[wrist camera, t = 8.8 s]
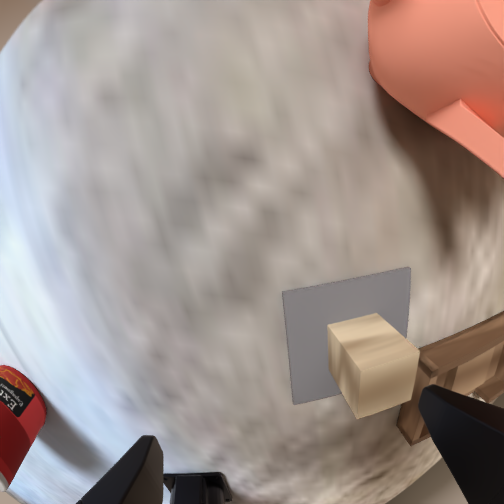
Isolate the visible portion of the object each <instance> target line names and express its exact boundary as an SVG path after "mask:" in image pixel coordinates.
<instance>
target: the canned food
mask: <svg viewBox="0 0 504 504" xmlns="http://www.w3.org/2000/svg"><path fill="white" fill-rule="evenodd" d="M46 414H47V412H46V406H45V403H44V401H43V399H42V397H41V395H40V394H39V392H38V391H37V389H36V388H35V386H34V385H33V384H32V383H31V382H30V381H29V380H28V379H27V378H26V377H25V376H24V375H23V374H21V373H20V372H19V371H17V370H16V369H14V368H12V367H9V366H6V365H0V491H1V492H6V490H7V489H8V487H9V486H10V484H11V482H12V480H13V479H14V477H15V475H16V473H17V471H18V469H19V467H20V465H21V463H22V462H23V460H24V458H25V456H26V454H27V453H28V451H29V449H30V447H31V446H32V444H33V442H34V440H35V439H36V437H37V435H38V433H39V432H40V430H41V428H42V427H43V425H44V423H45V419H46Z"/></svg>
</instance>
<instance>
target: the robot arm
mask: <svg viewBox="0 0 504 504" xmlns="http://www.w3.org/2000/svg"><path fill="white" fill-rule="evenodd" d="M418 409H419V411H420V414H421V416H422V418H423V420H424V422H425V425H426V427H427V429H428V431H429V433H430V436H431V438H432V440H433V442H434V444H435V445H436V447H437V449H438V450H439V452H440V454H441V455H442V457H443V459H444V461H445V462H446V464H447V466H448V468H449V469H450V471H451V473H452V475H453V476H454V478H455V480H456V482H457V484H458V485H459V487H460V489H461V491H462V493H463V494H464V496H465V498H466V500H467V502H468V504H504V408H501V407H498V406H495V405H492V404H489V403H486V402H483V401H480V400H477V399H474V398H471V397H468V396H465V395H463V394H460V393H457V392H454V391H452V390H449V389H446V388H443V387H441V386H438V385H435V384H431V385H428V386H426V387H424V388H423V389H422V392H421V396H420V399H419V402H418ZM163 483H164V484H165V486H166V487H167V488H168V490H169V491H170V493H171V497H170V504H225V502H230V501H232V496H231V494H230V492H229V490H228V487H227V485H226V483H225V481H224V478H223V476H222V474H221V473H201V474H163V451H162V449H161V447H160V445H159V443H158V441H157V438H156V437H155V436H152V435H143V436H141V437H140V438H139V439H138V441H137V442H136V443H135V444H134V445H133V446H132V447H131V448H130V449H129V450H128V451H127V452H126V453H125V454H124V455H123V456H122V457H121V459H120V460H119V461H118V462H117V463H116V464H115V465H114V466H113V467H112V468H111V469H110V470H109V471H108V472H107V473H106V474H105V475H104V476H103V477H102V478H101V479H100V480H99V481H98V482H97V483H96V484H95V485H94V486H93V487H92V488H91V489H90V490H89V491H88V492H87V493H86V494H85V495H84V496H83V497H82V498H81V500H79V501H78V502H77V503H76V504H162V502H163Z"/></svg>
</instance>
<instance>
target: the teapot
mask: <svg viewBox="0 0 504 504" xmlns="http://www.w3.org/2000/svg"><path fill="white" fill-rule="evenodd" d="M368 41H369V54H370V62H369V72H370V74H371V76H372V78H373V79H374V80H375V81H376V82H377V83H378V84H379V85H381V86H382V87H383V88H384V89H385V90H386V92H387V93H388V94H390V95H391V96H392V97H393V98H394V99H396V100H397V101H398V102H399V103H401V104H402V105H403V106H405V107H406V108H407V109H409V110H410V111H411V112H413V113H414V114H416V115H417V116H418V117H420V118H421V119H423V120H424V121H425V122H427V123H428V124H430V125H431V126H433V127H434V128H436V129H437V130H439V131H440V132H442V133H443V134H445V135H447V136H448V137H450V138H451V139H453V140H454V141H456V142H457V143H459V144H460V145H461V146H463V147H464V148H466V149H467V150H468V151H470V152H471V153H472V154H474V155H475V156H476V157H478V158H479V159H480V160H482V161H483V162H484V163H485V164H487V165H488V166H489V167H490V168H492V169H493V170H494V171H495V172H496V173H498V174H499V175H500V176H501V177H502V178H503V179H504V0H371V1H370V5H369V12H368Z"/></svg>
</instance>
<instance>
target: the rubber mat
mask: <svg viewBox="0 0 504 504" xmlns="http://www.w3.org/2000/svg"><path fill="white" fill-rule="evenodd" d="M410 283H411V268H410V267H405V268H400V269H396V270H391V271H387V272H382V273H377V274H372V275H368V276H363V277H358V278H353V279H348V280H343V281H338V282H333V283H327V284H322V285H317V286H311V287H306V288H300V289H295V290H289V291H283V292H282V297H283V306H284V315H285V325H286V334H287V344H288V355H289V365H290V376H291V387H292V398H293V404H294V405H296V404H301V403H306V402H310V401H314V400H319V399H323V398H327V397H331V396H334V395H338V394H342V392H341V390H340V389H339V387H338V385H337V383H336V382H335V380H334V378H333V376H332V374H331V373H330V371H329V367H328V330H327V325H329V324H333V323H338V322H342V321H346V320H350V319H354V318H358V317H362V316H366V315H370V314H374V313H377V314H379V315H380V316H381V317H382V318H383V319H384V320H385V321H387V322H388V323H389V324H390V325H391V326H392V327H393V328H395V329H396V330H397V331H398V332H399V333H400V334H401V335H402V336H404V337H405V338H406V337H407V327H408V316H409V303H410Z"/></svg>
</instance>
